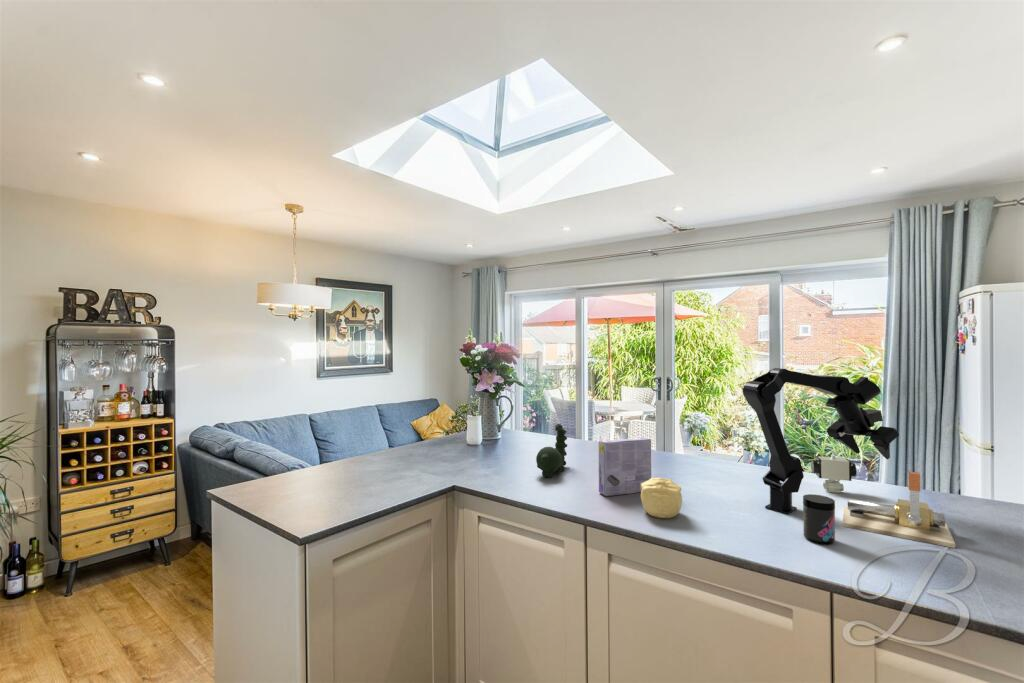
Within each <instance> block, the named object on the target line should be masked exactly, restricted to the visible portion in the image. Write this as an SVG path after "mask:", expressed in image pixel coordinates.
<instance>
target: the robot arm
mask: <svg viewBox="0 0 1024 683" xmlns="http://www.w3.org/2000/svg"><path fill="white" fill-rule="evenodd" d="M786 383H788V384H793V385H798V386H804V387H808V388H813V389H814V390H815V391H818V392H821V393H822V394H825V395H832V396H833V395H834V397H828V398H827V401H826V403H825V407H828V408H834V409H835V411H836V412H837V414H838V416H839V418H838V419H837V420H836V421H834V422H833V423H832V424H831V425H830V426H828V427H827V428H826V433H827V435H828V436H829V438H833V439H834V440H836V441H838V442H839V443H841V444H842V445H844V446H845V447H847V448H848V449H849V450H851V451H853V452H854V453H856V454H860V453H861V450H860V448H859V446H858V444H857V441H856V439H855V437H854V436H860V437H861V436H864V437H869V438H870V439H869V440H870V441H871V442H872V443H873V444H872V445H873V447H874V448H875V449H876V450H877V451H878V452H879V453H880V454H881V455H882V457H883V458H885V460H889V459H890V458H891V450H890V449H891V443H892V442H893V441H894V440H896V439H897V438H898V437H899V436H900V433H899V432H898V431H897V428H894V427H892V426H891V427H889V426H882V425H880V426H879V427H878V428H877V429H872V428H873V427H875V426H876V425H875V423H878V422H883V421H884V419H883V414H882V411H881V410H879V409H867V408H866V409H865V408H863V406H862V407H861V406H859V405H866V404H867V403H869V402H870V401H871V400H873V399H875V398H876V397H878V396H879V395H880V394H881V392H882V391H881V388H880V387H879V386H878V385H877V384H876V383H875V382H873V381H872V380H869V378H868V377H867V376H861V377H858V379H857V380H855V382H853V383H852V382H851V381H850V380H849V378H848V377H845V376H837V375H828V374H827V375H826V374H825V375H824V374H823V375H822V374H821V375H820V374H819V375H815V374H810V373H809V374H808V373H804V372H799V371H793V370H789V369H787V368H779V367H774V368H771V369H770V370H769V371H768V372H766V373H763V374H762V375H759V376H757V377H756V378H754V379H753V380H750V381H747V382H746V383H745V384H744V386H743V387H742V389H741V391H742V394H743V395H742V396H744V399H745V400H746V402H747V404H748V405H749V406H750V407H751V408H752V410H753V411H754V412H755V413H756V416H757V420H758V422H759V424H760V427H761V430H762V433H763V435H764V438H765V442H766V444H767V447H768V450H769V453H770V459H769V462H768V464H769V470H768V471H767V472H766V474H764V475H763V477H762V481H763V483H764V485H766V486H769V504H767V505H764V506H765V507H764V508H765V509H768V510H772V511H774V512H775V511H776V512H779V513H783V514H787V515H788V514H791V513H793V512H794V511H796V510H798V508H797V507H796V506H793V493H799V490H800V486H801V485H802V481H803V479H804V472H805V469H804V468H803V466H802V462H801V459H800V457H796V456H793V455H791V453H790V452H789V448H788V445H787V444H786V440H785V438H784V434H783V432H782V429H781V426H780V423H779V420H778V417H777V415H776V414H777V413H776V412H775V406H776V402H777V399H776V395H777V394H778V393H779V392H780V391H782V388H783V387H784V385H785V384H786Z"/></svg>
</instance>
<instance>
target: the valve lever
mask: <svg viewBox="0 0 1024 683" xmlns="http://www.w3.org/2000/svg"><path fill="white" fill-rule="evenodd" d="M907 473H908V475H907V476H908V477H907V479H908V480H907V485H908V487H907V488H908V491H909V501H910V514H909V515H908V516H907V519H908V522H909V523H910V524H911V525H912V526H920V525H921V524H922V519H921V517H920V513H919V502H920V492H921V473H920V472H916V471H910V470H909V471H908V472H907Z"/></svg>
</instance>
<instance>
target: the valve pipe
mask: <svg viewBox="0 0 1024 683" xmlns="http://www.w3.org/2000/svg"><path fill="white" fill-rule="evenodd" d="M847 507H848V510H850V516H853V517H859V518H864V513H868V514H874V515H880V516H886V517H891V518H895V521H898V522H899V525H900V526H906V527H911V528H917V529H922V530H928V531H936V532H940V527H939V526H943V527H945V524H946V516H945V513H941V512H934V510H933V509H932V508H931V509H930V507H929V504H928V503H927V502H921V501H919V513H920V517H921V519H922V524H921V525H920V526H912V525H911V524H910V523H909V522H908V519H907V516H908V515H909V514H910V499H902V498H897V503H894V504H893V505H891V504H886V503H880V502H873V501H868V500H861V499H854V498H847Z"/></svg>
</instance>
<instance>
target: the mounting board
mask: <svg viewBox="0 0 1024 683" xmlns="http://www.w3.org/2000/svg"><path fill="white" fill-rule="evenodd" d="M842 527H844V528H850V529H856V530H858V531H859V530H860V531H865V532H866V531H867V532H872V533H874V534H875V533H877V534H882V535H886V536H892V537H896V538H900V539H901V538H902V539H907V540H910V541H911V540H912V541H917V542H922V543H928V544H931V545H932V544H933V545H937V546H944V547H948V548H953V549H955V548H956V543H955V540H954V538H953V535H952V533H951V531H950V529H949V526H948V525H947V523H945V527H943V526H939V527H940V532H936V531H928V530H922V529H917V528H911V527H906V526H900V525H899V522H898V521H895V518H891V517H886V516H880V515H874V514H868V513H864V518H859V517H853V516H850V510H848V506H844V507H843V516H842Z"/></svg>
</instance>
